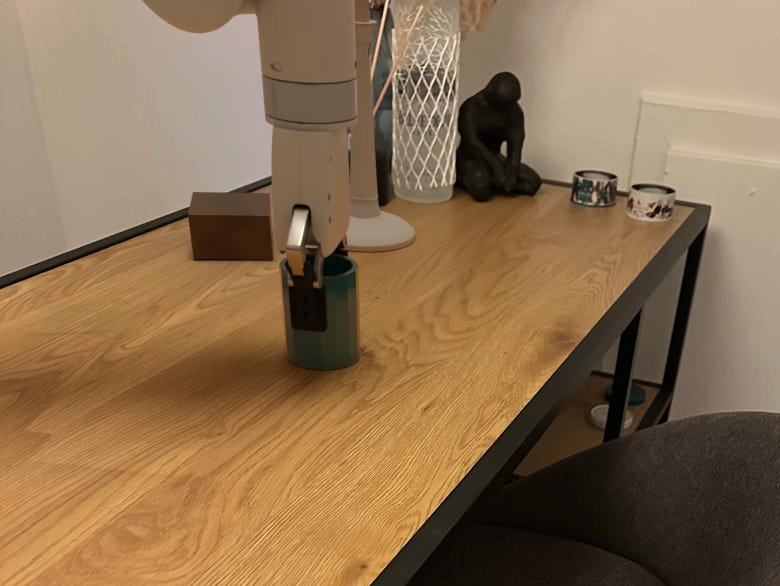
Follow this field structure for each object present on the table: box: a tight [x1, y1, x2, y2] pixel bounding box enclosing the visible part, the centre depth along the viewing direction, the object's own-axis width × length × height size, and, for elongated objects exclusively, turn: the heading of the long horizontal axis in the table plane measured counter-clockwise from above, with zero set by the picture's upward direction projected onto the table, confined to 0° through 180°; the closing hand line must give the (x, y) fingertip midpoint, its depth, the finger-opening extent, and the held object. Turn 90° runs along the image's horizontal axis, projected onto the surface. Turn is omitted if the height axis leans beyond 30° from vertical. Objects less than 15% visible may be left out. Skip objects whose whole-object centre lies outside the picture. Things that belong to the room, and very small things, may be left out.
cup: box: [278, 253, 361, 371], centre depth 87 cm, size 7×7×8 cm
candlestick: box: [342, 0, 416, 253], centre depth 109 cm, size 13×13×30 cm
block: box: [187, 191, 274, 261], centre depth 110 cm, size 9×9×5 cm
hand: (321, 310), depth 87 cm, fingers open, 9 cm apart
